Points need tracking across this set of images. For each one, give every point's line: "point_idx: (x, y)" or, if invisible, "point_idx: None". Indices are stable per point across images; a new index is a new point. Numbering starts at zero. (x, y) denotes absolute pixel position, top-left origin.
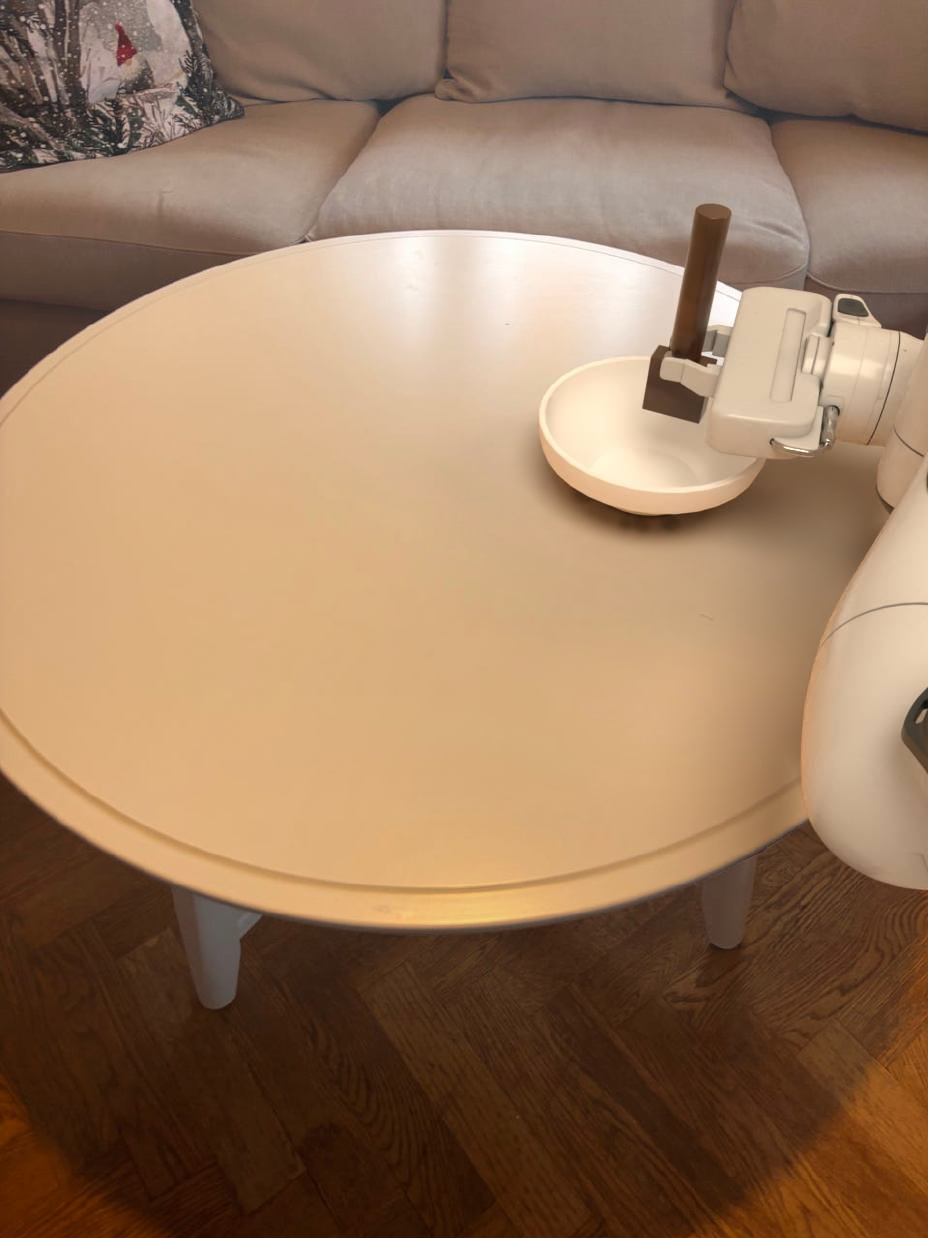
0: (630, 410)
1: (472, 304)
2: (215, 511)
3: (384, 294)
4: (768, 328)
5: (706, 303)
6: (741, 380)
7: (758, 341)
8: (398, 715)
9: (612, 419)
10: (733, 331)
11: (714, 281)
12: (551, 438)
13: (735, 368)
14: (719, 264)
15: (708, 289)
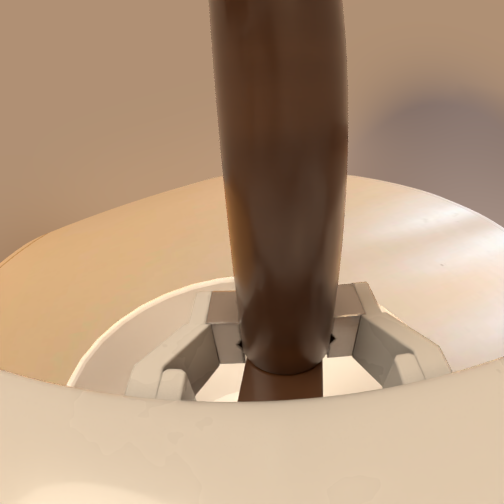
0: (360, 384)
1: (441, 244)
2: (157, 227)
3: (406, 214)
4: (489, 479)
5: (236, 171)
6: (26, 433)
7: (361, 496)
8: (4, 321)
9: (335, 374)
10: (397, 387)
11: (243, 77)
12: (162, 297)
13: (90, 424)
14: (251, 6)
15: (225, 107)
